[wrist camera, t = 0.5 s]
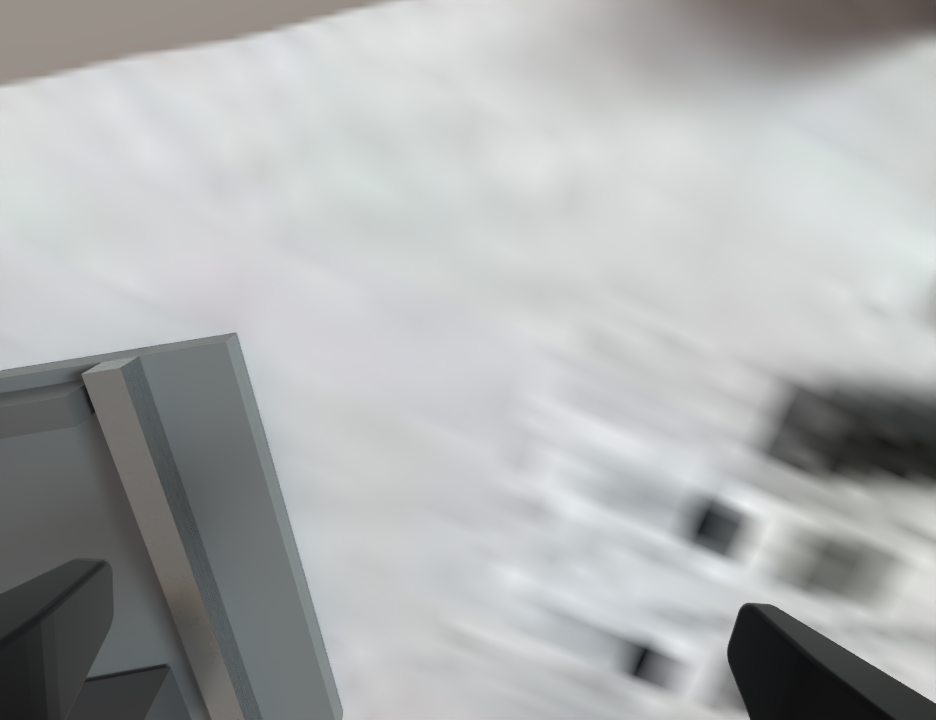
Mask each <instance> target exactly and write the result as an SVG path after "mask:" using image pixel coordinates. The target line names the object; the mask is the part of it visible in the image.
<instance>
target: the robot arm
mask: <svg viewBox="0 0 936 720" xmlns="http://www.w3.org/2000/svg"><path fill="white" fill-rule="evenodd" d="M113 617H114V588H113V568H112V565H111V563H110V562H109V561H108V560H106V559H95V558H74V559H72V560H70V561H68V562H65V563H63V564H61V565H59V566H57V567H55V568H53V569H51V570H49V571H47V572H45V573H42V574H40V575H38V576H36V577H34V578H32V579H30V580H28V581H26V582H24V583H22V584H19V585H17V586H15V587H13V588H11V589H9V590H7V591H5V592H3V593H1V594H0V720H66V718H67V716H68V714H69V712H70V710H71V707H72V705H73V703H74V701H75V699H76V697H77V695H78V693H79V691H80V689H81V687H82V685H83V683H84V681H85V679H86V677H87V675H88V673H89V671H90V669H91V667H92V665H93V663H94V661H95V659H96V657H97V655H98V653H99V651H100V649H101V647H102V645H103V643H104V641H105V639H106V636H107V634H108V632H109V630H110V628H111V625H112V621H113ZM727 656H728V662H729V666H730V668H731V671H732V674H733V676H734V679H735V681H736V684H737V687H738V689H739V692H740V694H741V697H742V699H743V702H744V705H745V707H746V710H747V712H748V715H749V718H750V720H936V703H934V702H932V701H931V700H929V699H927V698H926V697H924V696H922V695H921V694H919V693H917V692H916V691H914V690H912V689H911V688H909V687H907V686H906V685H904V684H902V683H901V682H899V681H898V680H896V679H894V678H893V677H891V676H889V675H888V674H886V673H884V672H883V671H881V670H879V669H878V668H876V667H874V666H873V665H871V664H869V663H868V662H866V661H864V660H863V659H861V658H860V657H858V656H856V655H855V654H853V653H851V652H850V651H848V650H846V649H845V648H843V647H841V646H840V645H838V644H836V643H835V642H833V641H831V640H830V639H828V638H826V637H825V636H823V635H822V634H820V633H818V632H817V631H815V630H813V629H812V628H810V627H808V626H807V625H805V624H803V623H802V622H800V621H798V620H797V619H795V618H793V617H792V616H790V615H788V614H787V613H785V612H784V611H782V610H780V609H779V608H777V607H775V606H773V605H770V604H759V603H746V604H744V605H743V606H742V607H741V608H740V610H739V612H738V616H737V619H736V622H735V625H734V628H733V631H732V634H731V638H730V641H729V644H728V650H727Z"/></svg>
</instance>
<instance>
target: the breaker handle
mask: <svg viewBox="0 0 936 720" xmlns="http://www.w3.org/2000/svg"><path fill="white" fill-rule="evenodd" d="M66 720H191V717H190V714H189V712H188V709H187V707H186V704H185V702H184V699H183V697H182V694H181V691H180V689H179V686H178V684H177V681H176V679H175V676H174V674H173V671H172V668H171V667H167V668H162V669H156V670H151V671H145V672H140V673H134V674H129V675H123V676H118V677H112V678H107V679H101V680H96V681H90V682H85V683H83V685H82V687H81V689H80V691H79V693H78V695H77V697H76V699H75V701H74V703H73V705H72V707H71V710H70V712H69V714H68V716H67V718H66Z"/></svg>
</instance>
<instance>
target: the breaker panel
mask: <svg viewBox="0 0 936 720" xmlns="http://www.w3.org/2000/svg"><path fill="white" fill-rule="evenodd" d="M74 558H95V559H106V560H108V561H109V562H110V563H111V565H112V568H113V588H114V617H113V621H112V625H111V628H110V630H109V632H108V634H107V636H106V639H105V641H104V643H103V645H102V647H101V649H100V651H99V653H98V655H97V657H96V659H95V661H94V663H93V665H92V667H91V669H90V671H89V673H88V675H87V677H86V679H85V681H84V683H85V682H90V681H96V680H101V679H107V678H112V677H118V676H123V675H129V674H134V673H140V672H145V671H151V670H156V669H162V668H167V667H171V668H172V671H173V674H174V676H175V679H176V681H177V684H178V686H179V689H180V691H181V694H182V697H183V699H184V702H185V704H186V707H187V709H188V712H189V714H190V717H191V720H342V717H343V710H342V706H341V702H340V699H339V695H338V692H337V688H336V685H335V681H334V678H333V674H332V670H331V667H330V663H329V660H328V656H327V653H326V649H325V646H324V642H323V638H322V635H321V631H320V628H319V624H318V621H317V617H316V614H315V610H314V606H313V603H312V599H311V596H310V592H309V589H308V585H307V582H306V578H305V574H304V571H303V567H302V564H301V560H300V557H299V553H298V550H297V546H296V542H295V539H294V535H293V532H292V528H291V525H290V521H289V517H288V514H287V510H286V507H285V503H284V500H283V496H282V493H281V489H280V485H279V482H278V478H277V475H276V471H275V468H274V464H273V461H272V457H271V453H270V450H269V446H268V443H267V439H266V436H265V432H264V429H263V425H262V421H261V418H260V414H259V411H258V407H257V404H256V400H255V397H254V393H253V389H252V386H251V382H250V379H249V375H248V372H247V368H246V365H245V361H244V357H243V354H242V350H241V347H240V343H239V340H238V336H237V333H232V334H226V335H220V336H213V337H207V338H201V339H195V340H189V341H182V342H176V343H170V344H164V345H157V346H151V347H145V348H139V349H133V350H126V351H120V352H114V353H108V354H102V355H95V356H89V357H83V358H77V359H71V360H64V361H58V362H52V363H46V364H40V365H33V366H27V367H21V368H15V369H8V370H2V371H0V594H1V593H3V592H5V591H7V590H9V589H11V588H13V587H15V586H17V585H19V584H22V583H24V582H26V581H28V580H30V579H32V578H34V577H36V576H38V575H40V574H42V573H45V572H47V571H49V570H51V569H53V568H55V567H57V566H59V565H61V564H63V563H65V562H68V561H70V560H72V559H74Z"/></svg>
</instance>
